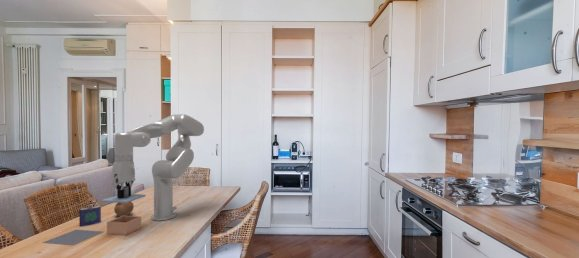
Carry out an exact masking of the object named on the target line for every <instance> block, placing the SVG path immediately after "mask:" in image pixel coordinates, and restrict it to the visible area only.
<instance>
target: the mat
mask: <svg viewBox="0 0 579 258" xmlns="http://www.w3.org/2000/svg"><path fill="white" fill-rule="evenodd" d="M103 233H104V231H103V230H101V231H99V230H88V229H86V230H85V229H73V230H70V231H69V232H66V233H63V234H61V235H58V236H56V237H53V238H50V239H48V240H45V241H42V244H49V245H51V244H53V245H62V246H63V245H64V246H75V245H78V244H81V243H82V242H85V241H87V240H89V239H92V238H94V237H96V236H98V235H101V234H103Z"/></svg>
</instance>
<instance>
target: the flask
mask: <svg viewBox="0 0 579 258" xmlns="http://www.w3.org/2000/svg"><path fill="white" fill-rule="evenodd" d="M101 207H102V206H100V205H97V206H93V204H89V206H87V207H82V208H80V209H79V215H78V216H79V217H78V218H79V219H78V220H79V223H78V225H79V228H80V227H87V226H91V225H97V224H101V223H102V208H101Z"/></svg>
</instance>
